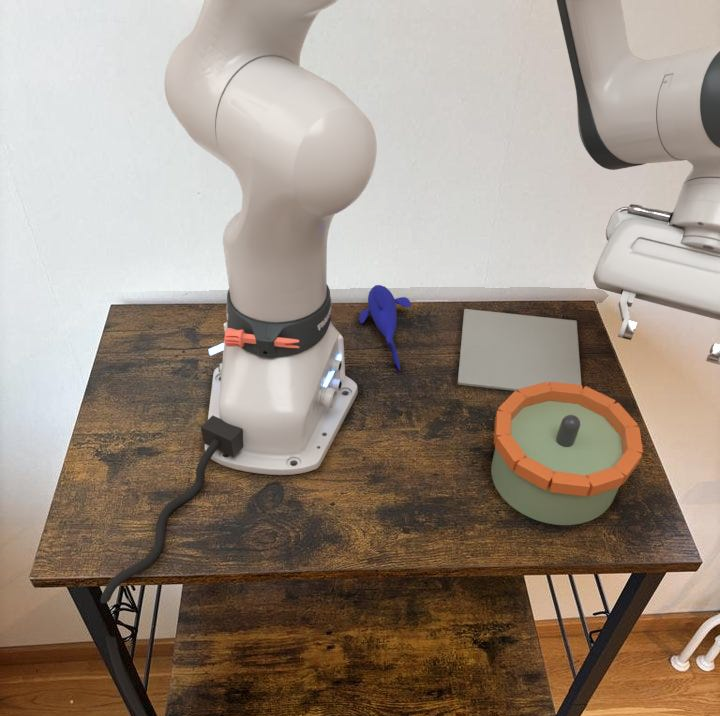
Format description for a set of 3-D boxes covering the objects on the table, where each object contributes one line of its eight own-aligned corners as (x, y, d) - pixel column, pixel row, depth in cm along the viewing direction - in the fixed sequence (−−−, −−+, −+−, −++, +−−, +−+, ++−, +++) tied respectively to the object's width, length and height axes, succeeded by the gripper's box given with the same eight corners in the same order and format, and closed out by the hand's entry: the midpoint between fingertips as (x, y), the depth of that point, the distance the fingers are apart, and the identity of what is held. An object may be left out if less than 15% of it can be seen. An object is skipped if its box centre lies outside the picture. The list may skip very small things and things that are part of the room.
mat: (581, 398, 94) (582, 396, 94) (457, 384, 95) (457, 382, 95) (576, 322, 104) (576, 320, 104) (464, 310, 106) (464, 308, 105)
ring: (644, 504, 75) (649, 494, 74) (492, 485, 76) (494, 475, 75) (630, 400, 85) (634, 390, 84) (496, 385, 87) (498, 375, 85)
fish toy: (359, 314, 107) (344, 277, 102) (409, 297, 106) (396, 258, 101) (373, 382, 97) (357, 345, 92) (428, 364, 96) (414, 325, 91)
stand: (620, 533, 80) (649, 476, 73) (489, 516, 81) (504, 458, 74) (610, 439, 90) (634, 380, 82) (492, 425, 91) (506, 366, 83)
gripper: (618, 189, 76) (573, 318, 78) (828, 237, 71) (775, 373, 73) (614, 209, 82) (573, 328, 84) (807, 254, 77) (759, 380, 79)
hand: (668, 350), depth 78 cm, fingers open, 8 cm apart
